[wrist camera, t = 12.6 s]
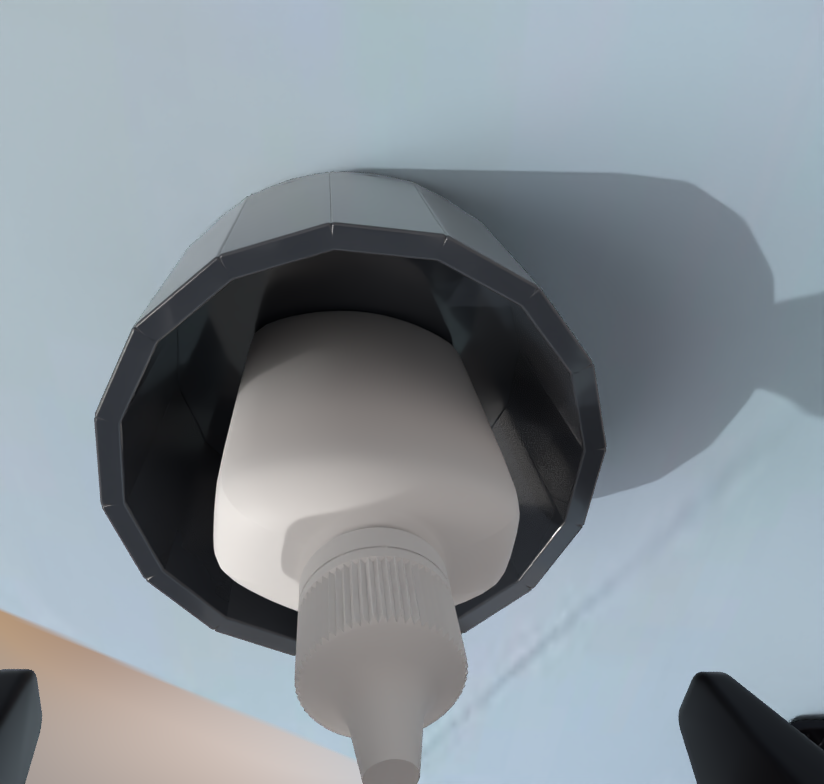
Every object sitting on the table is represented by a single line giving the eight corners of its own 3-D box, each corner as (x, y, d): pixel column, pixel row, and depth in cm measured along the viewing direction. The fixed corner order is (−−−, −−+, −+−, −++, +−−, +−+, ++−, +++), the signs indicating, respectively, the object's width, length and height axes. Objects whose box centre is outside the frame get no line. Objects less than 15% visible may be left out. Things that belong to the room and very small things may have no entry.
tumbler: (492, 514, 22) (544, 659, 17) (166, 500, 21) (111, 656, 15) (564, 195, 18) (664, 258, 13) (157, 146, 16) (76, 194, 11)
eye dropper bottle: (388, 470, 21) (455, 925, 10) (222, 373, 19) (84, 811, 8) (481, 361, 19) (673, 747, 9) (313, 244, 17) (295, 559, 7)
